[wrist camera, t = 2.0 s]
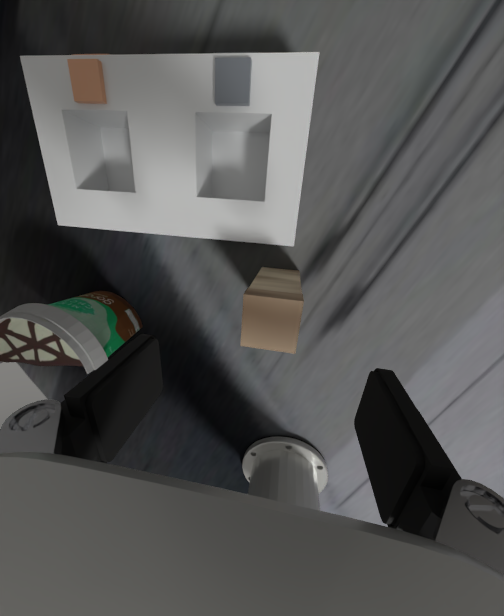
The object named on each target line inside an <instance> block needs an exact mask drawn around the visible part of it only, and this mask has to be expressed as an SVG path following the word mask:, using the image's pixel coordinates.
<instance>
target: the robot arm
mask: <svg viewBox="0 0 504 616" xmlns="http://www.w3.org/2000/svg"><path fill="white" fill-rule="evenodd" d="M162 389H163V379H162V369H161V360H160V350H159V342H158V340H157V339H156V338H155V336H153V335H146V334H140V335H139V336H137V337H136V338H135V339H134V340H132V341H131V342H130V343H129V344H127V345H126V346H125V347H124V348H122V349H121V350H120V351H119V352H117V353H116V354H115V355H114V356H112V357H111V358H110V359H109V360H108V361H106V362H105V363H104V364H103V365H101V366H100V367H99V368H98V369H96V370H95V371H94V372H93V373H91V374H90V375H89V376H88V377H86V378H85V379H84V380H83V381H81V382H80V383H79V384H78V385H76V386H75V387H74V388H73V389H71V390H70V391H69V392H68V393H66V394H65V395H64V397H65V400H64V401H63V402H62V403H59V402H58V401H56V400H41V401H37V402H34V403H31V404H28V405H26V406H24V407H22V408H20V409H18V410H17V411H15V412H14V413H12V414H11V415H10V416H9V417H8V418H7V419H6V420H5V422H4V423H3V425H2V427H1V429H0V616H504V498H503V497H501V496H500V495H498V494H497V493H496V492H494V491H493V490H492V489H490V488H488V487H486V486H484V485H482V484H480V483H478V482H475V481H472V480H466V479H461V477H460V475H459V474H458V472H457V471H456V469H455V468H454V466H453V464H452V463H451V461H450V460H449V458H448V456H447V455H446V453H445V452H444V450H443V449H442V447H441V445H440V444H439V442H438V441H437V439H436V437H435V436H434V434H433V433H432V431H431V430H430V428H429V426H428V425H427V423H426V422H425V420H424V419H423V417H422V415H421V414H420V412H419V411H418V410H417V408H416V407H415V405H414V404H413V402H412V400H411V399H410V397H409V396H408V394H407V393H406V391H405V389H404V388H403V386H402V385H401V383H400V381H399V380H398V378H397V377H396V375H395V373H394V372H393V371H391V370H385V369H379V368H377V369H375V371H371V372H370V373H369V376H368V379H367V382H366V386H365V389H364V392H363V395H362V398H361V401H360V404H359V407H358V410H357V413H356V416H355V421H354V425H355V430H356V433H357V437H358V440H359V444H360V447H361V451H362V454H363V458H364V461H365V465H366V468H367V472H368V475H369V479H370V482H371V486H372V489H373V493H374V496H375V499H376V503H377V506H378V510H379V513H380V517H381V519H382V521H383V523H385V524H387V525H388V527H385V526H381V525H377V524H373V523H369V522H365V521H361V520H357V519H353V518H349V517H345V516H340V515H336V514H332V513H327V512H323V511H320V503H319V493H320V492H321V491H322V490H323V489H324V488H325V486H326V484H327V481H328V471H327V466H326V463H325V461H324V459H323V457H322V456H321V455H320V454H319V452H318V451H317V450H315V449H314V448H313V447H311V446H310V445H308V444H306V443H304V442H302V441H300V440H297V439H293V438H289V437H280V436H277V437H268V438H263V439H261V440H258V441H256V442H255V443H253V444H252V445H250V446H249V448H248V449H247V450H246V452H245V454H244V458H243V464H242V468H243V473H244V475H245V477H246V479H247V480H248V481H249V483H250V484H249V490H248V494H244V493H239V492H235V491H230V490H226V489H221V488H217V487H212V486H208V485H203V484H199V483H194V482H190V481H185V480H181V479H176V478H172V477H167V476H162V475H158V474H153V473H149V472H144V471H139V470H135V469H130V468H125V467H121V466H116V465H112V464H107V462H110V461H112V460H113V459H114V457H115V456H116V454H117V453H118V452H119V450H120V449H121V448H122V446H123V445H124V443H125V442H126V441H127V439H128V438H129V437H130V435H131V434H132V432H133V431H134V430H135V428H136V427H137V426H138V424H139V423H140V421H141V420H142V419H143V417H144V416H145V415H146V413H147V412H148V410H149V409H150V408H151V406H152V405H153V404H154V402H155V401H156V399H157V398H158V397H159V395H160V394H161V392H162Z"/></svg>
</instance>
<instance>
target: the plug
mask: <svg viewBox="0 0 504 616" xmlns="http://www.w3.org/2000/svg"><path fill="white" fill-rule="evenodd" d="M303 303H304V300H303V294H302V290H301V282H300V274H299V271H297V270H287V269H278V268H268V267H262V268H261V269H260V271H259V272H258V274H257V276H256V277H255V279H254V280H253V282H252V284H251V285H250V287H249V288H247V290H246V291H245V293H244V297H243V314H242V331H241V346H246V347H253V348H260V349H266V350H273V351H280V352H287V353H294V354H295V352H296V346H297V340H298V334H299V328H300V322H301V315H302V309H303Z"/></svg>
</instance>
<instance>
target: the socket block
mask: <svg viewBox="0 0 504 616" xmlns="http://www.w3.org/2000/svg"><path fill="white" fill-rule="evenodd" d="M318 58H319V52H291V53H258V52H215V53H209V54H127V55H110V54H72V55H45V56H20V59H21V64H22V68H23V72H24V77H25V81H26V86H27V90H28V95H29V99H30V103H31V108H32V112H33V117H34V121H35V126H36V130H37V134H38V139H39V143H40V148H41V152H42V157H43V161H44V165H45V170H46V174H47V179H48V183H49V188H50V192H51V196H52V201H53V205H54V210H55V214H56V219H57V223H58V225H62V226H73V227H84V228H95V229H106V230H117V231H128V232H140V233H151V234H162V235H173V236H184V237H195V238H206V239H217V240H228V241H240V242H251V243H262V244H273V245H284V246H294V240H295V233H296V225H297V217H298V210H299V202H300V195H301V187H302V180H303V172H304V164H305V157H306V149H307V142H308V134H309V127H310V119H311V111H312V104H313V96H314V89H315V81H316V74H317V66H318Z"/></svg>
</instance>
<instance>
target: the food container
mask: <svg viewBox="0 0 504 616" xmlns="http://www.w3.org/2000/svg"><path fill="white" fill-rule="evenodd" d="M142 327H143V326H142V323H141V319H140V317H139V316H138V314H137V313H136V311H135V309H134V308H133V307H132V306H131V305H130V304H129V303H128V302H127V301H126V300H125V299H123V298H122V297H120V296H118V295H116V294H115V293H111V292H108V291H95V292H91V293H88V294H84V295H81V296H77V297H73V298H70V299H66V300H63V301H59V302H56V303H52V304H48V305H46V304H40V303H28V304H23V305H20V306H17V307H16V308H14V309H12V310H10V311H9V312H7V313H5V314H3V315H2V316H0V363H2V362H20V363H27V364H31V365H36V366H66V365H68V366H84V368H85V370H86V373H87V374H89V373H90V372H92V371H93V370H96V369H98V368H99V367H100V366H101V365H103V364H104V363H105V362H106V361H108V357H109V356H110V355H111V354H112V353H113V352H115V351H116V350H117V349H118V348H119V347H120V346H121V345H123V344H124V343H125V342H126V341H127V340H128V339H129V338H131V337H132V336H133V335H134V334H135V333H136V332H138V331H139V330H140V329H141V328H142Z"/></svg>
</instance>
